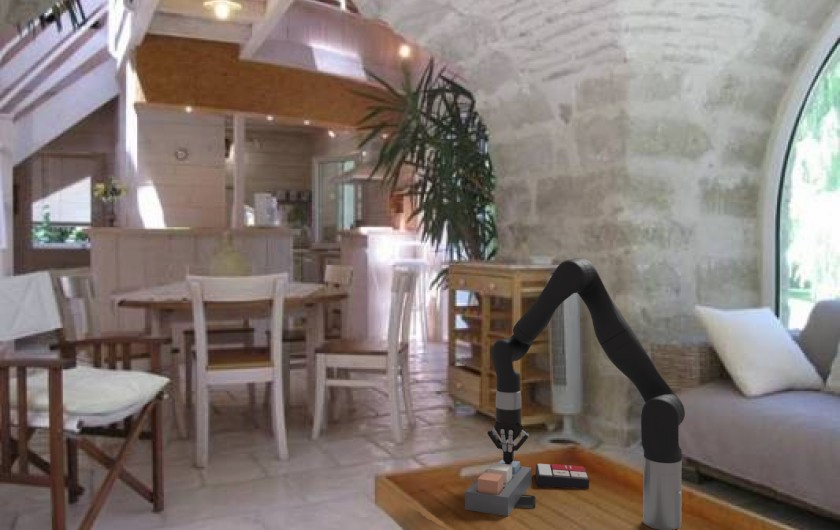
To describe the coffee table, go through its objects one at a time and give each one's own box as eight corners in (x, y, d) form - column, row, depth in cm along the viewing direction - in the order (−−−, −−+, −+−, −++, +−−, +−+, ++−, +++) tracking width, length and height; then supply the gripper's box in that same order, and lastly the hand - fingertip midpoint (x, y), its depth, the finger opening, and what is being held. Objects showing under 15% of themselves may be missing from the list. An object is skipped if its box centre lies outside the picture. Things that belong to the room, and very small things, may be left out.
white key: (512, 478, 204) (512, 465, 203) (506, 484, 198) (506, 471, 198) (493, 475, 206) (493, 462, 206) (487, 482, 201) (487, 468, 200)
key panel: (531, 484, 212) (531, 467, 212) (508, 516, 188) (508, 497, 188) (492, 478, 217) (492, 462, 216) (465, 509, 193) (465, 491, 192)
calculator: (589, 477, 208) (538, 473, 210) (589, 491, 208) (537, 487, 210) (585, 465, 219) (536, 461, 221) (584, 479, 219) (535, 475, 221)
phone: (482, 492, 203) (535, 495, 201) (482, 496, 203) (535, 499, 201) (480, 502, 195) (535, 505, 193) (480, 506, 195) (535, 510, 193)
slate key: (520, 474, 212) (520, 461, 212) (515, 480, 207) (515, 467, 207) (501, 472, 214) (501, 459, 214) (496, 478, 209) (496, 465, 209)
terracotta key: (503, 488, 195) (503, 474, 195) (497, 495, 190) (497, 481, 190) (483, 486, 197) (483, 472, 197) (477, 492, 192) (477, 478, 192)
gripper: (533, 404, 210) (533, 462, 211) (490, 400, 216) (490, 457, 216) (527, 410, 204) (527, 470, 204) (483, 406, 209) (483, 464, 209)
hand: (508, 463), depth 210 cm, fingers closed
